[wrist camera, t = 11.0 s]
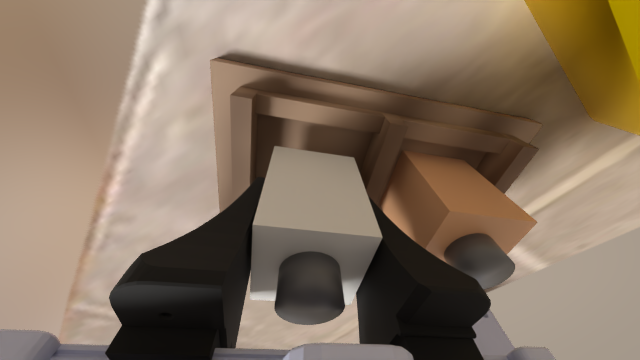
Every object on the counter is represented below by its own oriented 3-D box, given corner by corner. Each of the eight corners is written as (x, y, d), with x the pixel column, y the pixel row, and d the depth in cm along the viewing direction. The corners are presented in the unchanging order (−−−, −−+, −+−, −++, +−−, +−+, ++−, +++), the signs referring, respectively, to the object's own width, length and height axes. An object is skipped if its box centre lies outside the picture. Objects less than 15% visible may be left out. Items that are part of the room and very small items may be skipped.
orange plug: (464, 160, 16) (566, 246, 9) (434, 210, 18) (499, 304, 12) (402, 150, 15) (468, 235, 9) (379, 203, 17) (419, 299, 11)
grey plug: (354, 157, 13) (395, 272, 7) (336, 215, 16) (355, 339, 9) (274, 145, 12) (242, 261, 6) (269, 208, 15) (242, 335, 9)
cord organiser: (530, 119, 15) (600, 147, 12) (449, 234, 21) (479, 277, 17) (216, 57, 12) (178, 70, 9) (224, 210, 18) (203, 255, 15)
